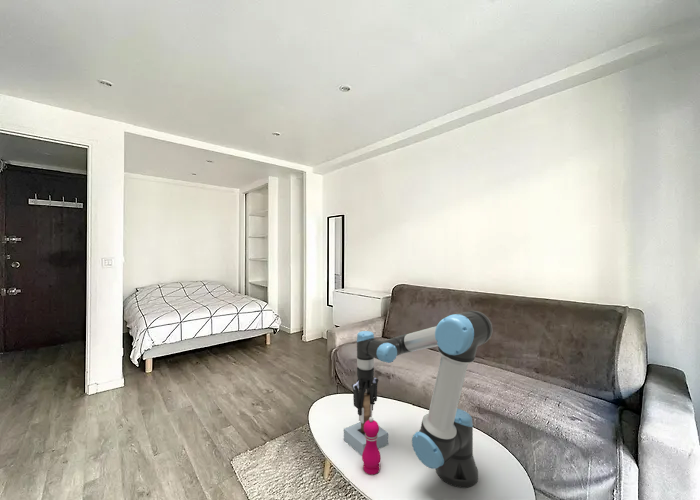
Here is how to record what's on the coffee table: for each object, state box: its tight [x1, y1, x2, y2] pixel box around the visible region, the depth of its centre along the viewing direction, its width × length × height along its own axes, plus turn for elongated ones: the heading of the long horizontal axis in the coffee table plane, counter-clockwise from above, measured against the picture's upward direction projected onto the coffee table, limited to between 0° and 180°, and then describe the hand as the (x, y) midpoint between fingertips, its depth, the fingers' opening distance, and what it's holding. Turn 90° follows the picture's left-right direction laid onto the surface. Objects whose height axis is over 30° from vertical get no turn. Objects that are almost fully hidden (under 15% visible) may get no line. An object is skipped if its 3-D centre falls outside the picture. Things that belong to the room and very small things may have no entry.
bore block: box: [343, 421, 389, 456], centre depth 135 cm, size 14×14×5 cm
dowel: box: [361, 392, 370, 435], centre depth 135 cm, size 4×4×17 cm
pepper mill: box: [361, 416, 382, 476], centre depth 118 cm, size 7×7×20 cm
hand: (365, 419), depth 135 cm, fingers closed on dowel, 4 cm apart
